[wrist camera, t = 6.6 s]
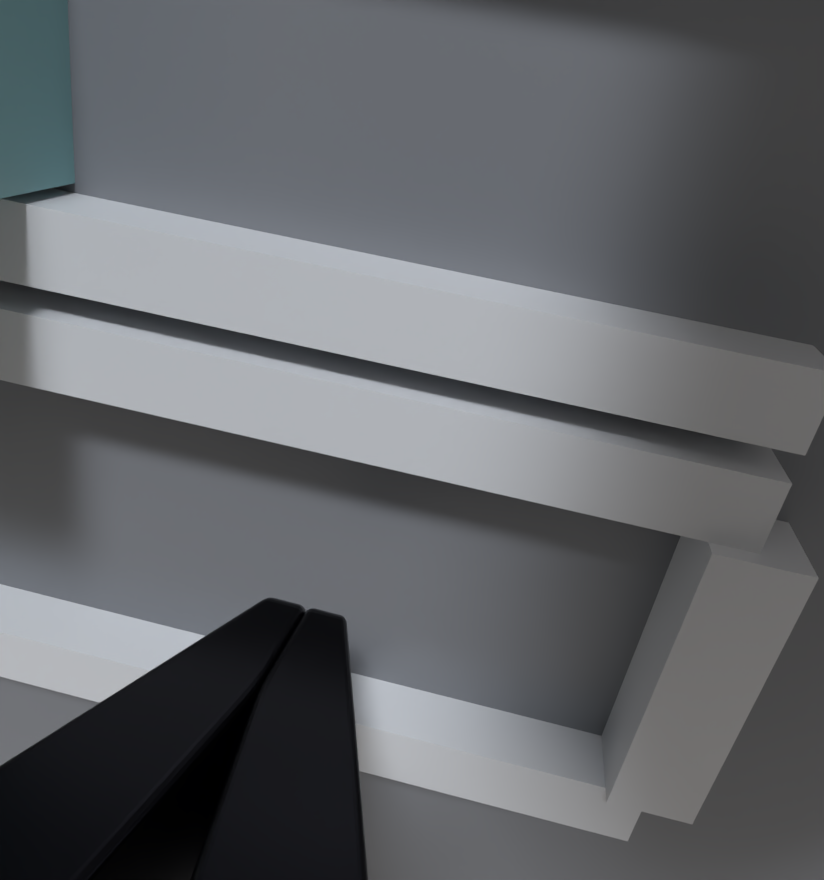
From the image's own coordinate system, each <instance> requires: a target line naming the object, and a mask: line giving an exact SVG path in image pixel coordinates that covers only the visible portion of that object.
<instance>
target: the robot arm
mask: <svg viewBox="0 0 824 880" xmlns="http://www.w3.org/2000/svg"><path fill="white" fill-rule="evenodd" d="M0 880H369V879H368V867H367V856H366V844H365V832H364V820H363V808H362V796H361V785H360V773H359V761H358V749H357V737H356V725H355V714H354V702H353V690H352V678H351V666H350V654H349V643H348V631H347V621H346V619H345V618H344V617H343V616H342V615H339V614H335V613H331V612H327V611H323V610H319V609H316V608H311V609H308V610H307V611H306V610H305V608H304V607H303V606H302V605H300V604H296V603H292V602H288V601H285V600H281V599H277V598H266V599H263V600H262V601H260V602H258V603H257V604H255V605H254V606H252V607H250V608H249V609H247V610H246V611H244V612H243V613H241V614H239V615H238V616H236V617H235V618H233V619H231V620H230V621H228V622H227V623H225V624H224V625H222V626H220V627H219V628H217V629H216V630H214V631H212V632H211V633H209V634H208V635H206V636H205V637H203V638H201V639H200V640H198V641H197V642H195V643H193V644H192V645H190V646H189V647H187V648H186V649H184V650H182V651H181V652H179V653H178V654H176V655H174V656H173V657H171V658H170V659H168V660H167V661H165V662H163V663H162V664H160V665H159V666H157V667H155V668H154V669H152V670H151V671H149V672H148V673H146V674H144V675H143V676H141V677H140V678H138V679H136V680H135V681H133V682H132V683H130V684H129V685H127V686H125V687H124V688H122V689H121V690H119V691H117V692H116V693H114V694H113V695H111V696H110V697H108V698H106V699H105V700H103V701H102V702H100V703H98V704H97V705H95V706H94V707H92V708H91V709H89V710H87V711H86V712H84V713H83V714H81V715H79V716H78V717H76V718H75V719H73V720H72V721H70V722H68V723H67V724H65V725H64V726H62V727H60V728H59V729H57V730H56V731H54V732H53V733H51V734H49V735H48V736H46V737H45V738H43V739H41V740H40V741H38V742H37V743H35V744H34V745H32V746H30V747H29V748H27V749H26V750H24V751H22V752H21V753H19V754H18V755H16V756H15V757H13V758H11V759H10V760H8V761H7V762H5V763H3V764H2V765H0Z"/></svg>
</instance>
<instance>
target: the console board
mask: <svg viewBox="0 0 824 880" xmlns="http://www.w3.org/2000/svg"><path fill="white" fill-rule="evenodd" d="M266 598H277V599H281V600H285V601H288V602H292V603H296V604H300V605H302V606H303V607H304V608H305V610H306V611H307V610H308V609H311V608H316V609H319V610H323V611H327V612H331V613H335V614H339V615H342V616H343V617H344V618H345V619H346V621H347V631H348V643H349V654H350V666H351V678H352V690H353V702H354V714H355V725H356V737H357V749H358V761H359V773H360V785H361V796H362V808H363V820H364V832H365V844H366V856H367V867H368V879H369V880H824V0H0V765H2V764H3V763H5V762H7V761H8V760H10V759H11V758H13V757H15V756H16V755H18V754H19V753H21V752H22V751H24V750H26V749H27V748H29V747H30V746H32V745H34V744H35V743H37V742H38V741H40V740H41V739H43V738H45V737H46V736H48V735H49V734H51V733H53V732H54V731H56V730H57V729H59V728H60V727H62V726H64V725H65V724H67V723H68V722H70V721H72V720H73V719H75V718H76V717H78V716H79V715H81V714H83V713H84V712H86V711H87V710H89V709H91V708H92V707H94V706H95V705H97V704H98V703H100V702H102V701H103V700H105V699H106V698H108V697H110V696H111V695H113V694H114V693H116V692H117V691H119V690H121V689H122V688H124V687H125V686H127V685H129V684H130V683H132V682H133V681H135V680H136V679H138V678H140V677H141V676H143V675H144V674H146V673H148V672H149V671H151V670H152V669H154V668H155V667H157V666H159V665H160V664H162V663H163V662H165V661H167V660H168V659H170V658H171V657H173V656H174V655H176V654H178V653H179V652H181V651H182V650H184V649H186V648H187V647H189V646H190V645H192V644H193V643H195V642H197V641H198V640H200V639H201V638H203V637H205V636H206V635H208V634H209V633H211V632H212V631H214V630H216V629H217V628H219V627H220V626H222V625H224V624H225V623H227V622H228V621H230V620H231V619H233V618H235V617H236V616H238V615H239V614H241V613H243V612H244V611H246V610H247V609H249V608H250V607H252V606H254V605H255V604H257V603H258V602H260V601H262V600H263V599H266Z"/></svg>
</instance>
